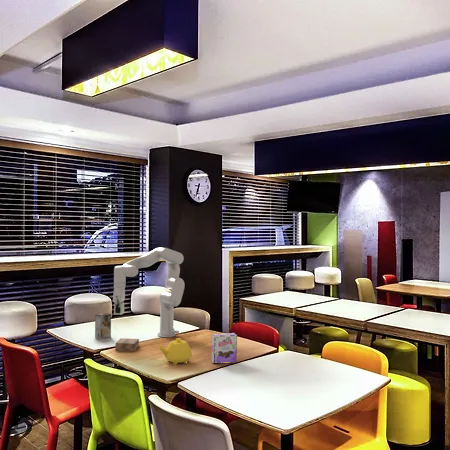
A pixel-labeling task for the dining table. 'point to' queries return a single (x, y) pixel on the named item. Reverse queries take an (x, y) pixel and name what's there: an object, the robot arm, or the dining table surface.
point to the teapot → (177, 351)
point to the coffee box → (102, 325)
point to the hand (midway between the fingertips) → (119, 312)
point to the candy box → (224, 347)
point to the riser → (127, 344)
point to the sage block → (120, 308)
